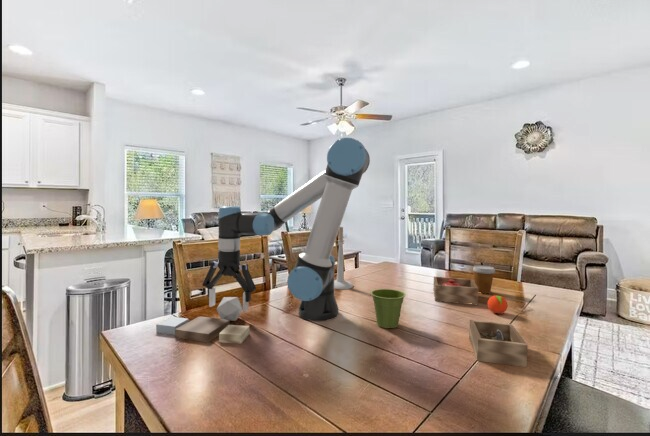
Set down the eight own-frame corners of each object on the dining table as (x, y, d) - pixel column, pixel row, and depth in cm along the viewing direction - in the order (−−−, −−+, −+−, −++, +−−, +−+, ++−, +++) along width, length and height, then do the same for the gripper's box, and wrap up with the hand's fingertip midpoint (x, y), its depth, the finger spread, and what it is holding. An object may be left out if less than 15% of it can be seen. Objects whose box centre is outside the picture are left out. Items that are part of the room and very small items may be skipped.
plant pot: (406, 321, 119) (407, 290, 119) (402, 333, 108) (403, 300, 107) (373, 316, 123) (374, 287, 122) (367, 328, 112) (367, 296, 111)
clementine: (510, 318, 123) (511, 299, 123) (490, 316, 125) (491, 298, 124) (503, 310, 131) (504, 293, 131) (484, 309, 133) (485, 292, 132)
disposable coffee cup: (495, 291, 158) (496, 266, 157) (492, 296, 150) (494, 270, 149) (473, 288, 163) (474, 264, 163) (470, 292, 155) (471, 267, 155)
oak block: (249, 335, 107) (249, 326, 106) (241, 344, 100) (241, 335, 100) (228, 333, 108) (228, 324, 107) (219, 343, 101) (219, 333, 100)
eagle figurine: (472, 343, 99) (494, 352, 89) (482, 320, 100) (506, 327, 91) (493, 357, 100) (518, 367, 90) (503, 334, 101) (529, 342, 92)
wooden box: (471, 294, 153) (472, 279, 153) (477, 304, 138) (478, 288, 138) (433, 290, 158) (433, 276, 158) (435, 301, 143) (435, 285, 142)
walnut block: (229, 328, 112) (229, 320, 112) (208, 343, 100) (208, 334, 100) (199, 324, 115) (199, 316, 115) (175, 338, 104) (175, 329, 104)
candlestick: (329, 282, 172) (329, 224, 170) (353, 283, 171) (354, 225, 169) (325, 288, 160) (326, 227, 158) (352, 290, 158) (353, 227, 156)
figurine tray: (510, 343, 102) (511, 324, 102) (526, 367, 88) (527, 345, 87) (469, 338, 105) (469, 319, 105) (477, 360, 91) (478, 339, 90)
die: (228, 327, 113) (245, 303, 116) (208, 313, 114) (225, 289, 117) (234, 327, 121) (249, 304, 124) (215, 314, 122) (231, 291, 125)
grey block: (189, 327, 112) (188, 318, 112) (175, 335, 106) (174, 326, 105) (171, 325, 114) (171, 316, 114) (156, 333, 107) (156, 324, 107)
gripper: (266, 250, 118) (264, 308, 119) (205, 245, 125) (205, 300, 126) (256, 254, 111) (255, 316, 112) (192, 248, 117) (192, 307, 119)
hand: (228, 308), depth 119 cm, fingers open, 13 cm apart
